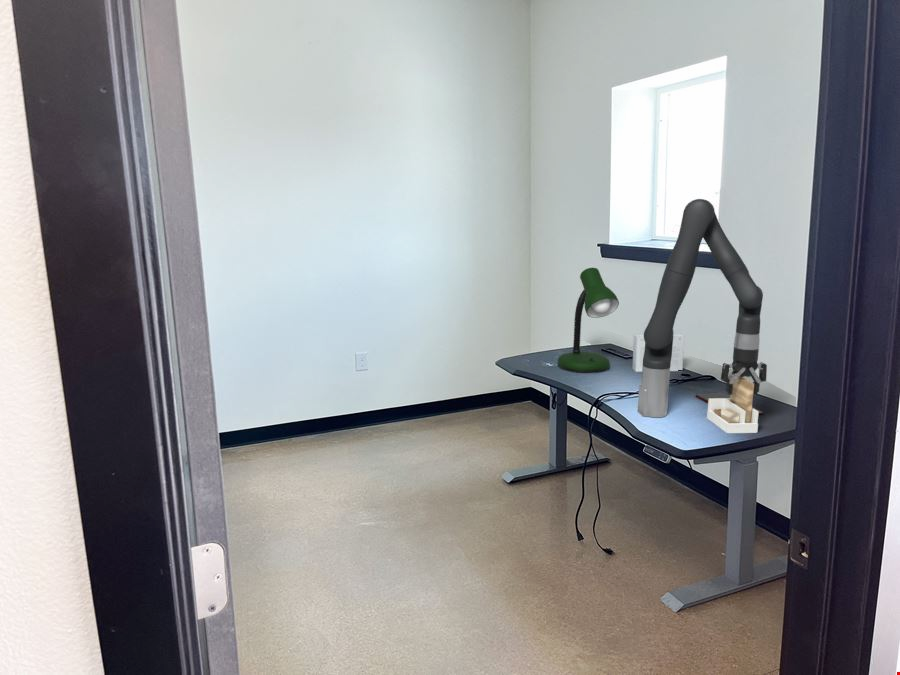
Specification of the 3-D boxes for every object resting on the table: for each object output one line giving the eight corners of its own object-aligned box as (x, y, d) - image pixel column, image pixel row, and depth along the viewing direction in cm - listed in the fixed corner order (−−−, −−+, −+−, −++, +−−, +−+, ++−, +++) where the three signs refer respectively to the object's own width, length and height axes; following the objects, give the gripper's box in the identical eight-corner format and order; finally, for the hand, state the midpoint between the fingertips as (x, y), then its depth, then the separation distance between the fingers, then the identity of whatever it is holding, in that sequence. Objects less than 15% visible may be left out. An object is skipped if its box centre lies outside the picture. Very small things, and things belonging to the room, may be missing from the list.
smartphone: (735, 415, 227) (693, 393, 250) (735, 419, 227) (693, 397, 251) (766, 412, 229) (721, 391, 253) (765, 416, 230) (721, 395, 253)
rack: (727, 433, 211) (729, 412, 210) (706, 417, 226) (708, 398, 225) (757, 432, 212) (759, 412, 210) (735, 417, 227) (736, 398, 225)
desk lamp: (628, 375, 279) (634, 270, 270) (580, 379, 273) (585, 272, 264) (593, 358, 308) (598, 263, 299) (549, 362, 302) (553, 264, 293)
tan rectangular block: (744, 430, 214) (748, 383, 210) (728, 419, 224) (732, 374, 221) (749, 430, 214) (754, 383, 210) (733, 419, 225) (737, 374, 221)
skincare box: (678, 368, 291) (680, 333, 288) (682, 371, 286) (685, 336, 283) (631, 368, 291) (633, 333, 287) (635, 372, 285) (637, 336, 282)
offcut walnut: (719, 423, 220) (720, 412, 220) (713, 420, 224) (714, 409, 223) (728, 423, 221) (729, 412, 220) (722, 419, 224) (723, 408, 223)
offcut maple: (728, 422, 213) (729, 413, 213) (720, 417, 218) (721, 408, 217) (738, 421, 214) (739, 413, 213) (730, 416, 219) (730, 408, 218)
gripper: (730, 349, 209) (726, 397, 213) (773, 348, 210) (769, 396, 214) (719, 344, 217) (716, 391, 220) (761, 343, 217) (757, 390, 221)
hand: (742, 393), depth 217 cm, fingers open, 8 cm apart
